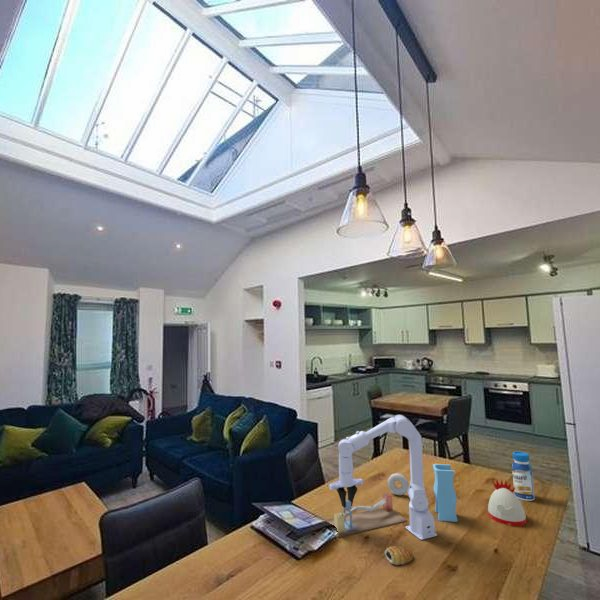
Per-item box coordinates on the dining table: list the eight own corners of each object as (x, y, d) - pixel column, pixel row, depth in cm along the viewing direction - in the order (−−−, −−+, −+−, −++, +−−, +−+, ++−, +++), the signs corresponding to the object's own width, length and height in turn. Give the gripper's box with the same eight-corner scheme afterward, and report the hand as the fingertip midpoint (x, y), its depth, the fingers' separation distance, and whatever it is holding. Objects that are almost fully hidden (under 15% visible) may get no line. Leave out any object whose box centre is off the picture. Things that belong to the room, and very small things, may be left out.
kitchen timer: (489, 506, 155) (486, 471, 157) (525, 514, 148) (522, 477, 150) (487, 520, 143) (484, 482, 145) (527, 529, 136) (523, 489, 138)
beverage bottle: (539, 499, 161) (535, 454, 163) (527, 502, 158) (523, 457, 160) (522, 492, 169) (518, 449, 171) (510, 495, 166) (506, 452, 168)
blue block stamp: (348, 521, 143) (347, 497, 144) (356, 529, 137) (355, 503, 138) (340, 523, 142) (339, 499, 143) (347, 531, 136) (346, 505, 137)
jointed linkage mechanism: (396, 511, 151) (396, 496, 151) (339, 535, 133) (338, 517, 134) (387, 507, 155) (386, 492, 156) (330, 529, 138) (329, 512, 138)
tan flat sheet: (406, 521, 143) (406, 520, 144) (336, 538, 132) (336, 536, 132) (388, 507, 156) (388, 506, 156) (322, 521, 144) (322, 520, 144)
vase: (458, 522, 142) (454, 471, 145) (438, 520, 144) (435, 470, 146) (453, 512, 150) (450, 464, 152) (434, 511, 152) (431, 463, 154)
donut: (409, 495, 168) (408, 473, 169) (408, 498, 165) (407, 476, 166) (388, 492, 172) (387, 471, 173) (387, 495, 168) (386, 473, 170)
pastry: (406, 551, 124) (405, 539, 124) (417, 562, 117) (417, 550, 118) (383, 556, 121) (382, 544, 121) (393, 568, 115) (393, 556, 115)
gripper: (356, 465, 148) (357, 498, 147) (325, 470, 143) (326, 504, 142) (365, 470, 142) (366, 505, 140) (333, 476, 137) (334, 512, 135)
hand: (347, 505), depth 141 cm, fingers closed on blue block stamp, 2 cm apart
